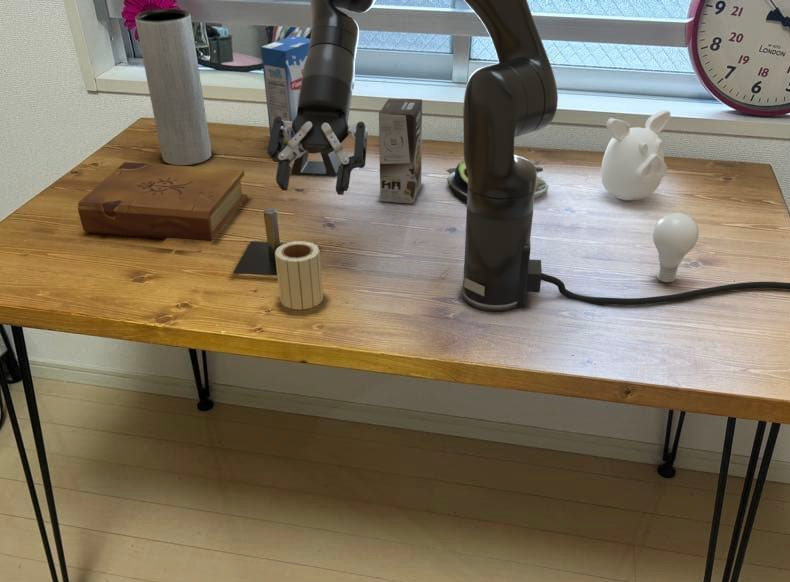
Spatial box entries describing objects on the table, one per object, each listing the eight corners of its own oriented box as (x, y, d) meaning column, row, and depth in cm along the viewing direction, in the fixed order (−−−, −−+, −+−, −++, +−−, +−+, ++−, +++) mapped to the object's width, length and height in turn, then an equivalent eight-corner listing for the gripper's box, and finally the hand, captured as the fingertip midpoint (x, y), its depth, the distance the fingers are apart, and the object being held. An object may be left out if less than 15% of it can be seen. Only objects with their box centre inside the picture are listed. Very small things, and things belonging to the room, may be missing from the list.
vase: (206, 166, 163) (183, 20, 146) (157, 166, 163) (128, 21, 146) (216, 148, 170) (195, 8, 154) (168, 148, 171) (142, 8, 154)
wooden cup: (326, 293, 122) (322, 242, 117) (318, 314, 117) (314, 262, 112) (286, 291, 123) (280, 240, 118) (276, 312, 118) (270, 260, 113)
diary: (84, 235, 138) (76, 203, 135) (131, 191, 153) (124, 162, 149) (212, 244, 135) (207, 212, 132) (247, 199, 150) (243, 168, 146)
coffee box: (413, 204, 147) (414, 115, 137) (379, 202, 148) (377, 112, 138) (422, 184, 154) (423, 98, 144) (389, 182, 155) (388, 96, 145)
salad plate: (518, 163, 162) (520, 140, 159) (571, 195, 149) (574, 171, 147) (433, 180, 156) (433, 157, 153) (481, 216, 143) (483, 191, 140)
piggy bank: (636, 217, 142) (652, 132, 132) (583, 197, 149) (594, 115, 139) (677, 198, 148) (694, 115, 139) (624, 179, 155) (637, 99, 146)
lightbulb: (679, 295, 120) (695, 227, 114) (638, 284, 123) (651, 217, 116) (691, 277, 125) (708, 211, 118) (651, 267, 127) (665, 201, 121)
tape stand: (316, 248, 134) (312, 197, 128) (302, 281, 125) (297, 228, 120) (251, 245, 135) (244, 194, 129) (233, 277, 126) (225, 224, 121)
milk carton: (294, 153, 168) (285, 51, 155) (271, 147, 170) (260, 46, 158) (323, 138, 174) (316, 39, 162) (300, 133, 177) (292, 35, 165)
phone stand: (342, 164, 162) (339, 104, 155) (336, 176, 158) (332, 114, 150) (298, 162, 164) (293, 102, 156) (291, 174, 159) (285, 112, 152)
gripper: (273, 69, 117) (256, 177, 115) (369, 74, 114) (353, 183, 113) (288, 96, 124) (272, 197, 122) (378, 101, 122) (363, 204, 120)
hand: (311, 190), depth 117 cm, fingers open, 8 cm apart
